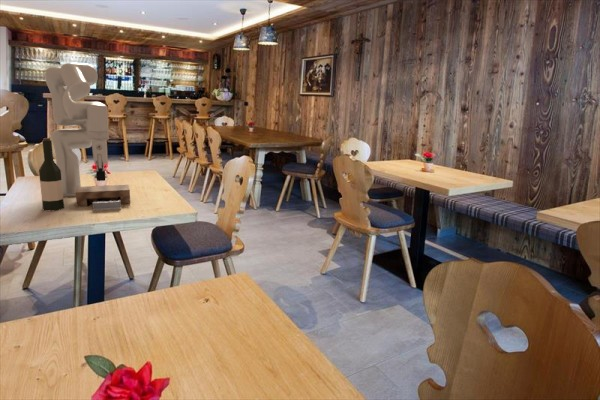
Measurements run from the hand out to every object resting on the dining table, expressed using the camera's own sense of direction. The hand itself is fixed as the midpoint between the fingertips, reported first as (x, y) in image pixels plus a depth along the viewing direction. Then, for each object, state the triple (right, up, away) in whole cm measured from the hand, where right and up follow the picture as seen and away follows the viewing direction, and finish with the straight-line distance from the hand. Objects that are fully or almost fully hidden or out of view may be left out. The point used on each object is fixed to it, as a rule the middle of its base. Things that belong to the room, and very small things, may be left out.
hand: (101, 180), depth 179 cm
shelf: (-9, -9, +23) cm, 27 cm away
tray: (-5, -11, +17) cm, 21 cm away
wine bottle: (-25, -12, +10) cm, 29 cm away
